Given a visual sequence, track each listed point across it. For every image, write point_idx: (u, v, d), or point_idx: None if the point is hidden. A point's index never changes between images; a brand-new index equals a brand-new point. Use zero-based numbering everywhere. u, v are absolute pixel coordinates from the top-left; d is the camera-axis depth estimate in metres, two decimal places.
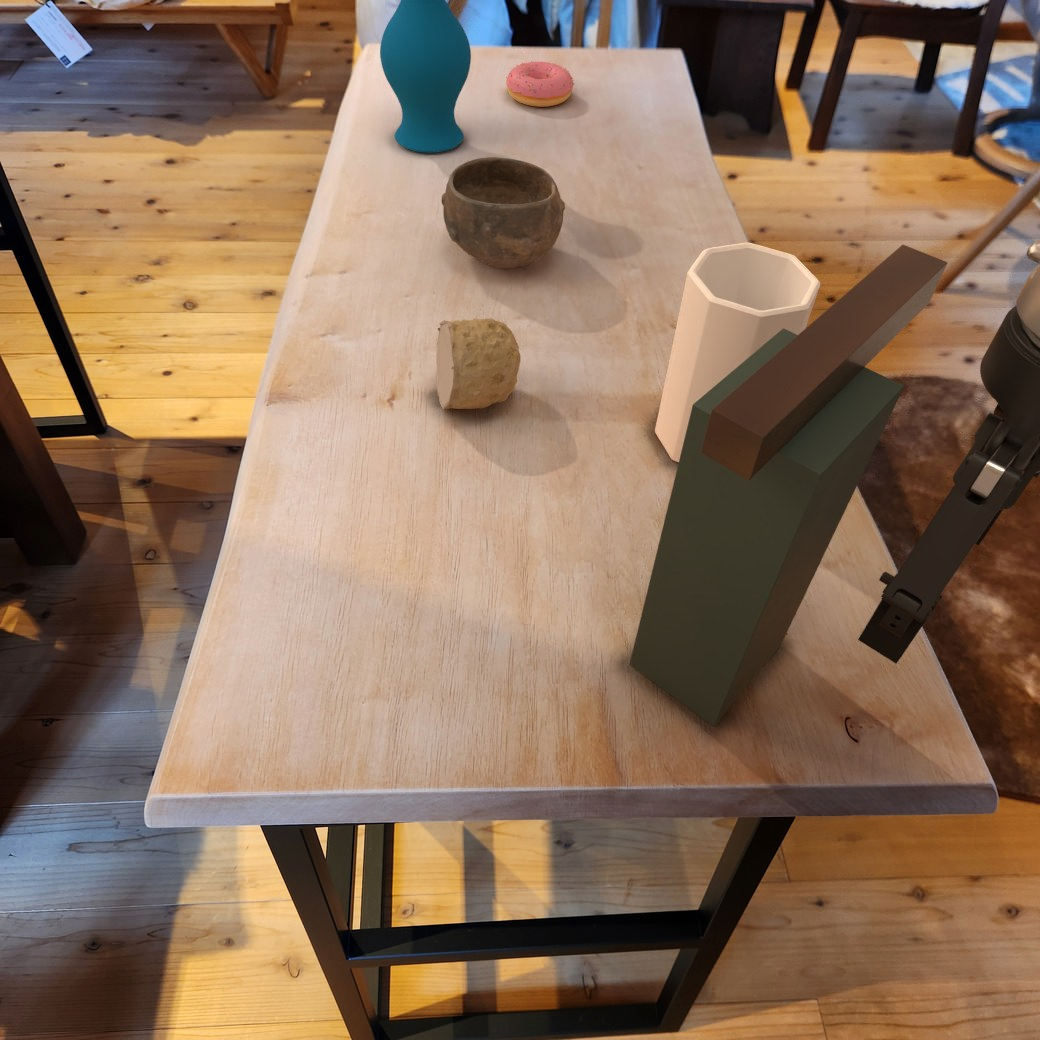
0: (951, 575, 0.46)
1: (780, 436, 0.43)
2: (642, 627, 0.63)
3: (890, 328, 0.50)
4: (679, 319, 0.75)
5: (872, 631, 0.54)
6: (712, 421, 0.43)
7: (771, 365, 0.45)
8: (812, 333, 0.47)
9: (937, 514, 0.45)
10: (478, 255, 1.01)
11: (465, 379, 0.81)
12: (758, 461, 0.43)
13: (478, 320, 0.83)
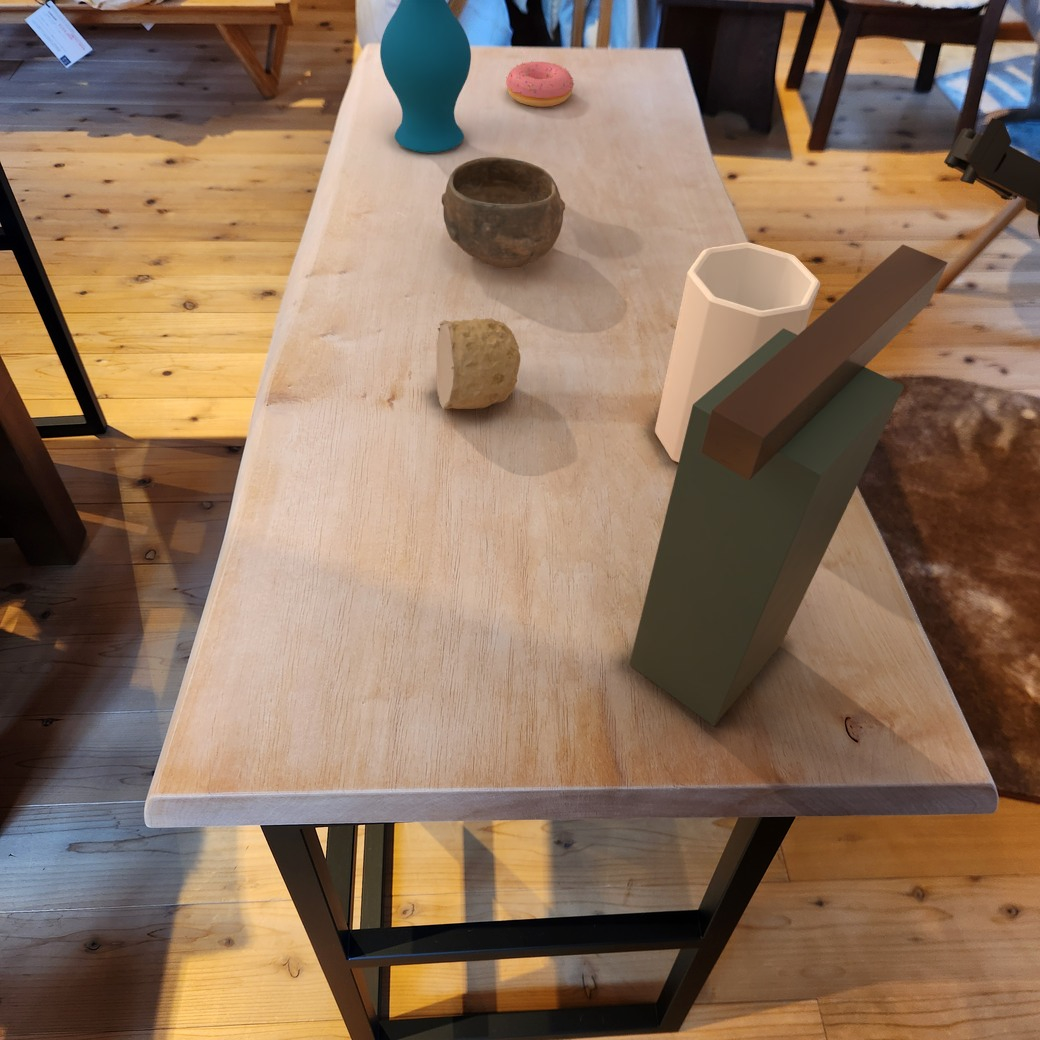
0: None
1: (780, 436, 0.43)
2: (642, 627, 0.63)
3: (890, 328, 0.50)
4: (679, 319, 0.75)
5: None
6: (712, 421, 0.43)
7: (771, 365, 0.45)
8: (812, 333, 0.47)
9: (983, 183, 0.66)
10: (478, 255, 1.01)
11: (465, 378, 0.81)
12: (758, 461, 0.43)
13: (478, 320, 0.83)
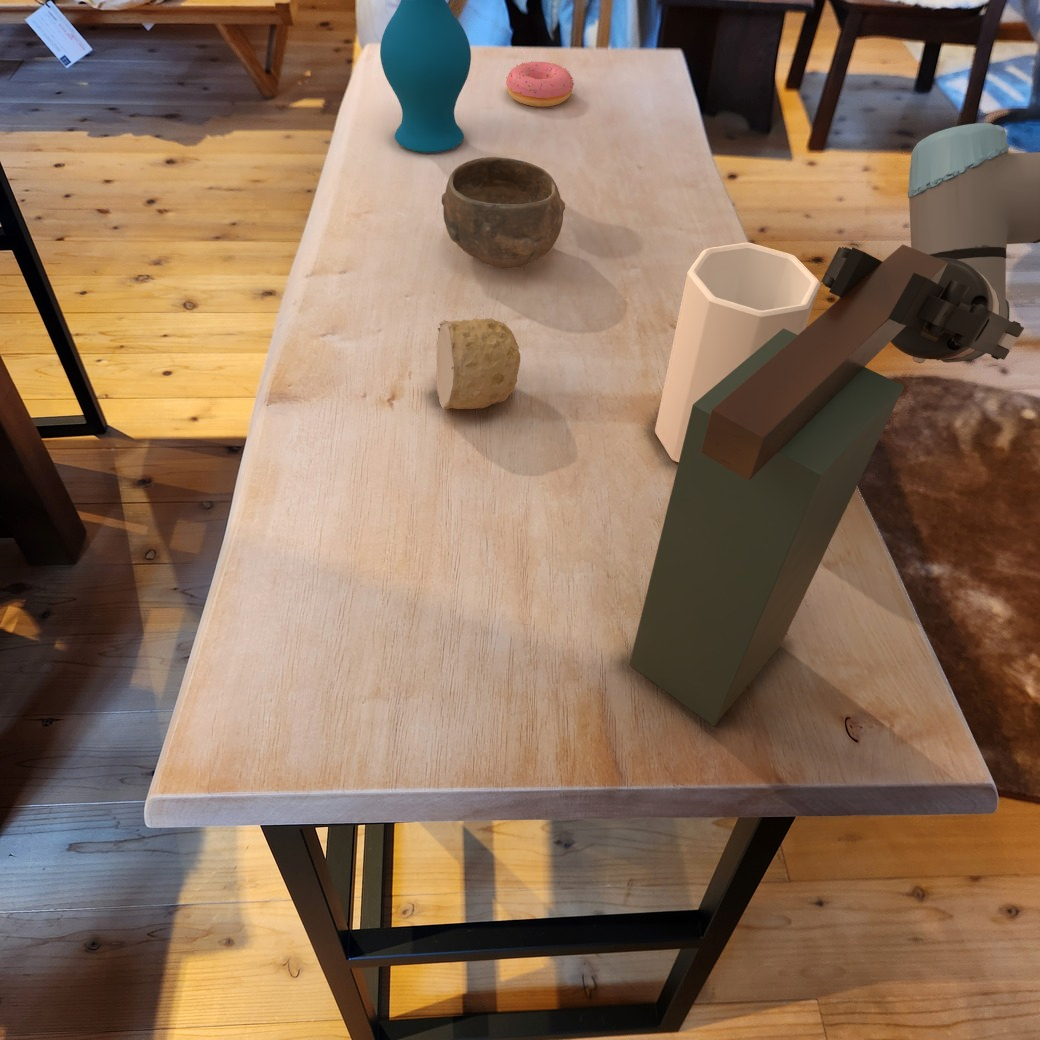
0: None
1: (780, 436, 0.43)
2: (642, 627, 0.63)
3: (890, 328, 0.50)
4: (679, 319, 0.75)
5: None
6: (712, 421, 0.43)
7: (771, 365, 0.45)
8: (812, 333, 0.47)
9: None
10: (478, 255, 1.01)
11: (465, 379, 0.81)
12: (758, 461, 0.43)
13: (478, 320, 0.83)
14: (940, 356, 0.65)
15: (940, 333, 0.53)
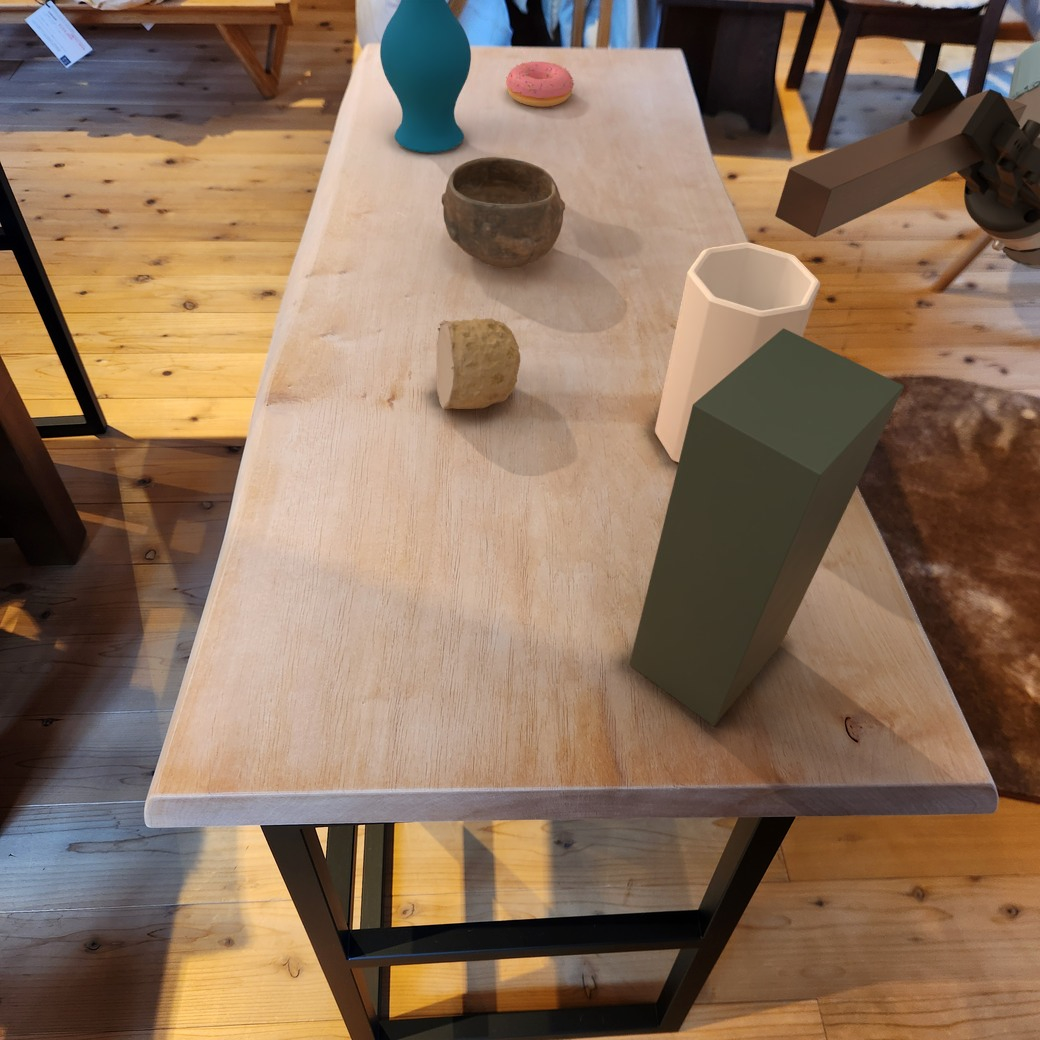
0: None
1: (847, 203, 0.50)
2: (642, 627, 0.63)
3: (963, 148, 0.55)
4: (679, 319, 0.75)
5: None
6: (788, 180, 0.49)
7: (848, 148, 0.51)
8: (889, 134, 0.53)
9: None
10: (478, 255, 1.01)
11: (465, 379, 0.81)
12: (825, 218, 0.49)
13: (478, 320, 0.83)
14: (1016, 229, 0.69)
15: (1012, 170, 0.58)
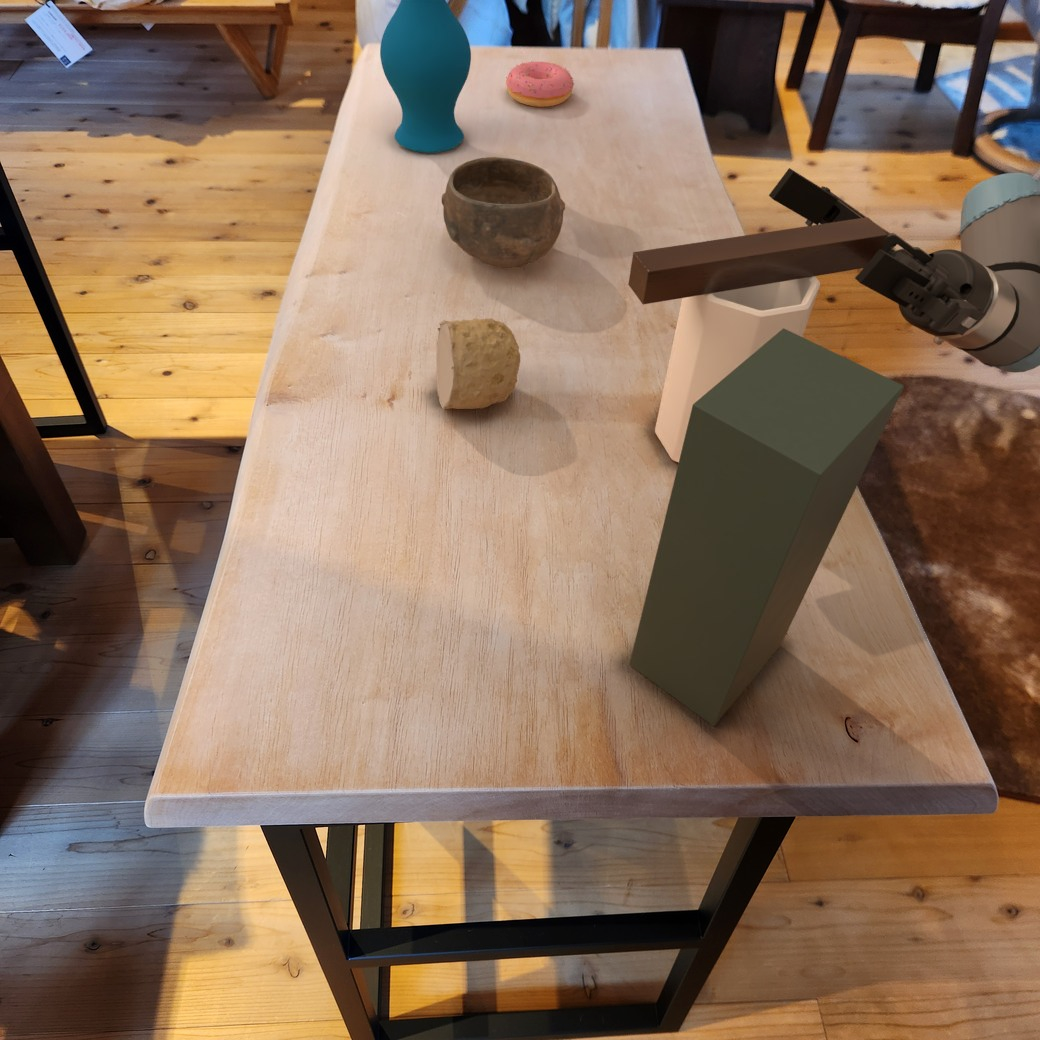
0: (848, 204, 0.81)
1: (672, 284, 0.68)
2: (642, 627, 0.63)
3: (810, 260, 0.70)
4: (679, 319, 0.75)
5: None
6: (632, 261, 0.68)
7: (693, 245, 0.69)
8: (740, 239, 0.70)
9: None
10: (478, 255, 1.01)
11: (465, 378, 0.81)
12: (649, 292, 0.67)
13: (478, 320, 0.83)
14: (926, 326, 0.80)
15: (921, 315, 0.69)
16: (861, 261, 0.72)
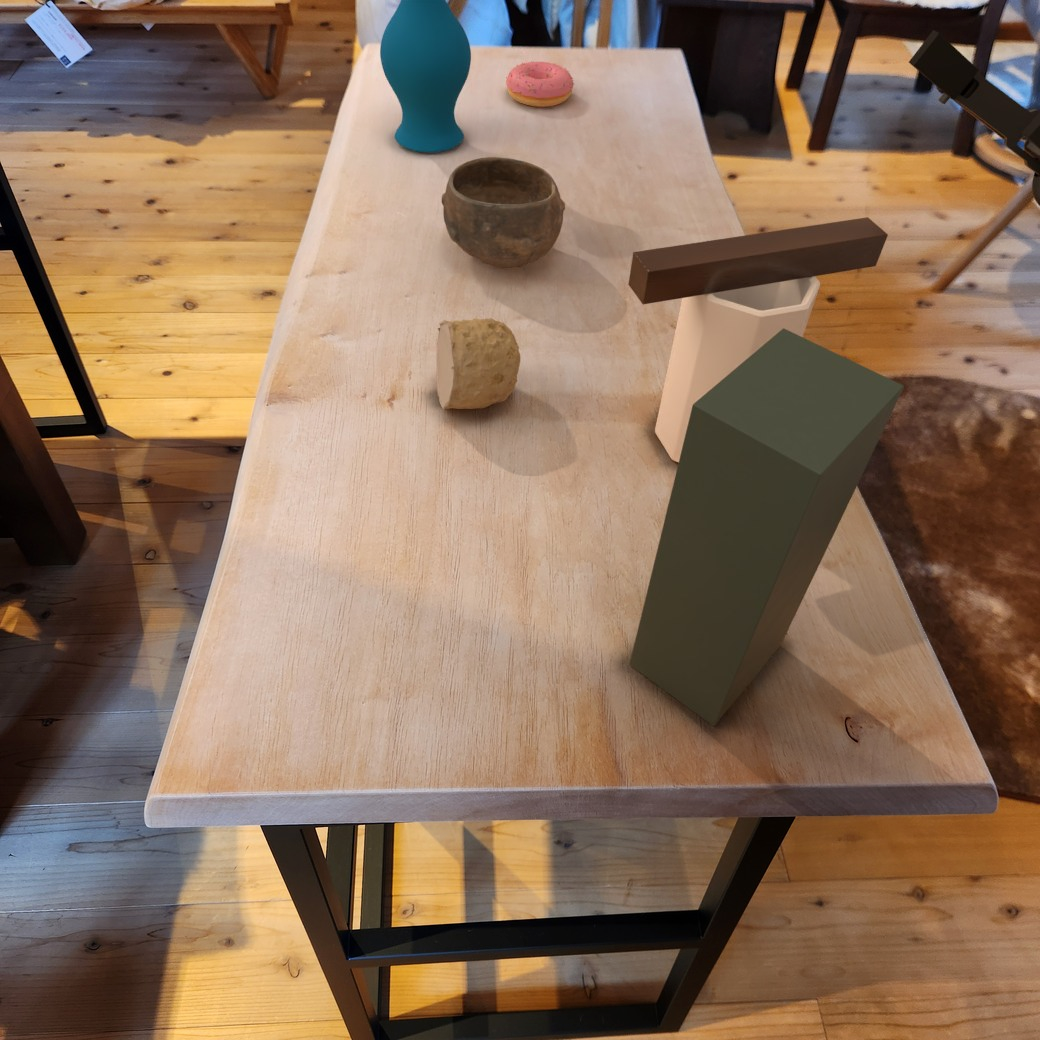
0: None
1: (673, 284, 0.68)
2: (642, 627, 0.63)
3: (810, 260, 0.70)
4: (679, 319, 0.75)
5: None
6: (632, 260, 0.68)
7: (693, 245, 0.69)
8: (740, 239, 0.70)
9: None
10: (478, 255, 1.01)
11: (465, 378, 0.81)
12: (649, 292, 0.67)
13: (478, 320, 0.83)
14: None
15: None
16: (861, 261, 0.72)
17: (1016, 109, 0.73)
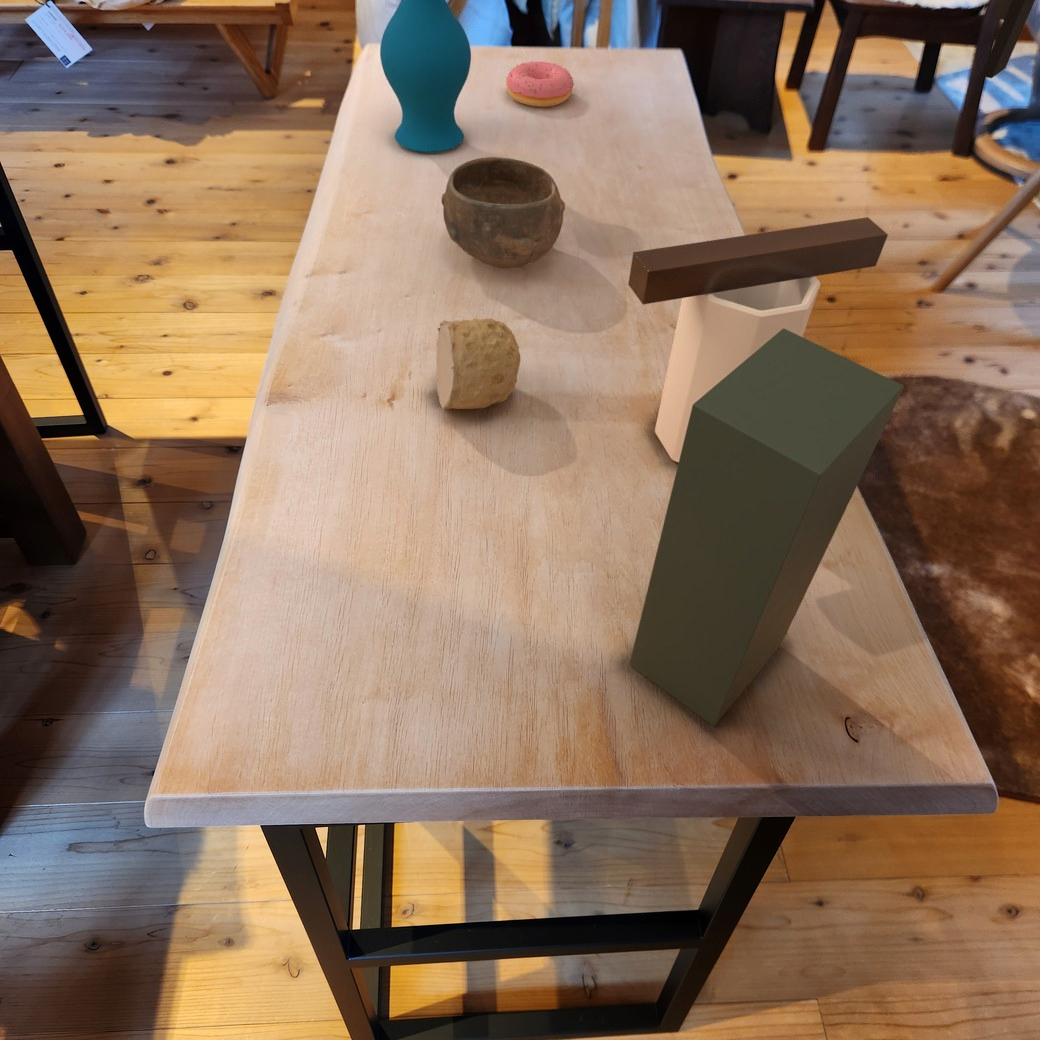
0: None
1: (673, 284, 0.68)
2: (642, 627, 0.63)
3: (810, 260, 0.70)
4: (679, 319, 0.75)
5: None
6: (632, 261, 0.68)
7: (693, 245, 0.69)
8: (740, 239, 0.70)
9: None
10: (478, 255, 1.01)
11: (465, 379, 0.81)
12: (649, 292, 0.67)
13: (478, 320, 0.83)
14: None
15: None
16: (861, 261, 0.72)
17: None
